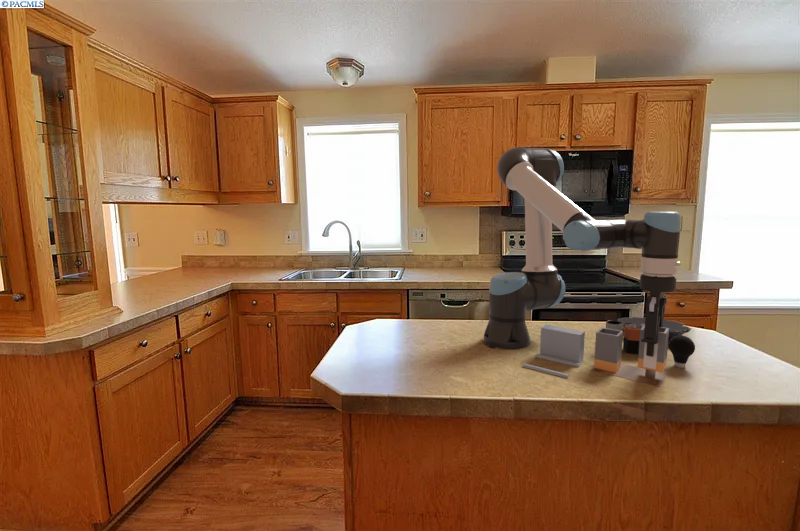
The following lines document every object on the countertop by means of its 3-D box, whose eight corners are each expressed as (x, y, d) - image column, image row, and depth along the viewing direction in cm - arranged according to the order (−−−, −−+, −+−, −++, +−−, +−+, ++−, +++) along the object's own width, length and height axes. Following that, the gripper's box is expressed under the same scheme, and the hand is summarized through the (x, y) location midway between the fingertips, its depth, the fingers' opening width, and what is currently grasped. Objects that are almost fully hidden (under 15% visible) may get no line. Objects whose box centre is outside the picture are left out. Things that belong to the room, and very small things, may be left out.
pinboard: (590, 375, 106) (591, 348, 104) (600, 363, 113) (601, 338, 112) (660, 392, 95) (663, 363, 94) (666, 378, 103) (668, 351, 102)
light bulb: (661, 367, 110) (664, 333, 109) (680, 366, 110) (683, 332, 109) (677, 376, 104) (680, 339, 103) (698, 375, 105) (701, 339, 103)
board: (612, 338, 135) (613, 323, 134) (619, 325, 153) (620, 312, 152) (691, 350, 122) (692, 334, 122) (689, 335, 140) (690, 321, 140)
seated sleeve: (594, 367, 107) (596, 332, 105) (599, 361, 111) (601, 327, 109) (616, 372, 103) (618, 336, 102) (620, 366, 107) (623, 331, 106)
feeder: (522, 371, 109) (523, 336, 107) (543, 356, 120) (544, 324, 118) (567, 383, 101) (569, 346, 99) (584, 365, 112) (586, 331, 111)
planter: (619, 353, 121) (621, 320, 120) (622, 358, 117) (624, 324, 116) (603, 351, 123) (604, 319, 121) (605, 356, 118) (607, 323, 117)
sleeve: (662, 372, 96) (666, 333, 95) (637, 367, 100) (640, 329, 98) (666, 366, 100) (669, 328, 99) (641, 361, 104) (644, 324, 102)
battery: (652, 360, 115) (655, 327, 114) (627, 358, 117) (629, 326, 115) (646, 354, 120) (648, 323, 118) (622, 353, 121) (624, 322, 120)
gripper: (671, 281, 88) (663, 379, 91) (681, 270, 101) (674, 356, 105) (633, 277, 92) (627, 371, 96) (647, 268, 106) (641, 350, 109)
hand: (651, 363), depth 100 cm, fingers closed on sleeve, 5 cm apart
